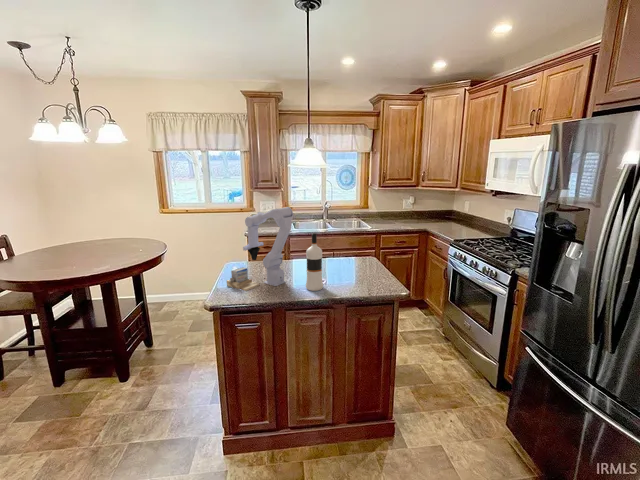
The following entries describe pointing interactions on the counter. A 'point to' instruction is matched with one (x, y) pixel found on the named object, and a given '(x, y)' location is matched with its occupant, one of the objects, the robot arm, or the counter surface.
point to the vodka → (314, 266)
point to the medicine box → (240, 274)
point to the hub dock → (242, 284)
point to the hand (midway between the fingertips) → (254, 259)
